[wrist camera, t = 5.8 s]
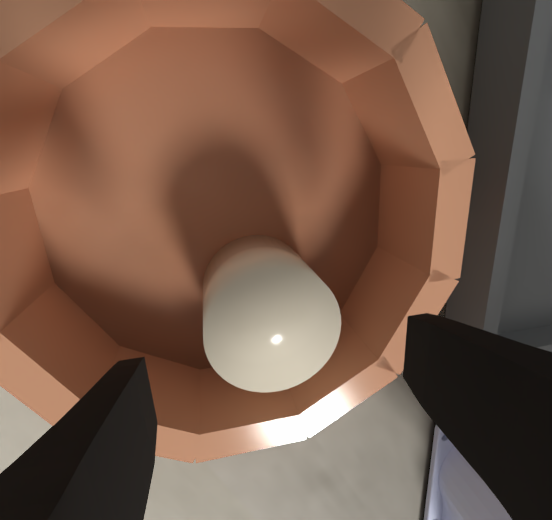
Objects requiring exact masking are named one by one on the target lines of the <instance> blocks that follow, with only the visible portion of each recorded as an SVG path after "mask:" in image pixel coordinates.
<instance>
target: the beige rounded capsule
mask: <svg viewBox="0 0 552 520" xmlns="http://www.w3.org/2000/svg"><path fill="white" fill-rule="evenodd" d="M340 332H341V314H340V309H339V305H338V303H337V300H336V298H335V296H334V294H333V293H332V291H331V290H330V289H329V287H328V286H327V285H326V284H325V283H324V282H323V281H322V280H321V279H320V278H319V277H318V275H317V274H316V273H315V272H314V271H313V270H312V269H311V268H310V267H309V266H308V265H307V264H306V263H305V262H304V260H303V259H302V258H301V257H300V256H299V255H298V254H297V253H296V252H295V251H294V250H293V249H292V248H291V247H290V246H289V245H287V244H286V243H284V242H283V241H281V240H279V239H276V238H274V237H270V236H264V235H250V236H245V237H241V238H238V239H236V240H233V241H231V242H230V243H228V244H226V245H225V246H224V247H222V248H221V249H220V250H219V251H218V252H217V253H216V254H215V255H214V256H213V258H212V259H211V260H210V262H209V264H208V266H207V268H206V271H205V273H204V278H203V344H204V349H205V353H206V356H207V358H208V361H209V362H210V364H211V366H212V367H213V369H214V370H215V371H216V372H217V374H219V375H220V376H221V377H222V378H223V379H224V380H226V381H227V382H228V383H230V384H232V385H234V386H236V387H238V388H241V389H244V390H248V391H252V392H276V391H281V390H286V389H289V388H292V387H294V386H297V385H299V384H301V383H303V382H304V381H306V380H308V379H309V378H311V377H312V376H313V375H315V374H316V373H317V372H318V371H319V370H320V369H321V368H322V367H323V366H324V365H325V364H326V362H327V361H328V360H329V358H330V357H331V355H332V354H333V352H334V350H335V348H336V346H337V343H338V340H339V336H340Z"/></svg>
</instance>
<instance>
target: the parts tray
mask: <svg viewBox="0 0 552 520" xmlns="http://www.w3.org/2000/svg"><path fill="white" fill-rule="evenodd" d="M467 133H468V136H469V138H470V141H471V144H472V147H473V149H474V152H475V155H474V156H472V157H471V158H476V159H475V167H474V175H473V183H472V190H471V198H470V206H469V214H468V221H467V229H466V237H465V245H464V252H463V260H462V268H461V276H460V278H457V279H455V280H457V281H459V282H458V284H457V285H456V287H455V288H454V290H453V292H452V293H451V295H450V296H449V298H448V300H447V304H446V313H445V318H448V319H451V320H455V321H458V322H461V323H464V324H467V325H470V326H473V327H476V328H479V329H482V330H485V331H488V332H491V333H494V334H497V335H500V336H503V337H506V338H509V339H512V340H515V341H518V342H521V343H524V344H527V345H530V346H533V347H536V348H540V349H543V350H547V351H550V352H552V0H483V1H482V10H481V18H480V27H479V35H478V43H477V52H476V60H475V69H474V77H473V86H472V94H471V102H470V111H469V119H468V128H467Z"/></svg>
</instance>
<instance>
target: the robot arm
mask: <svg viewBox="0 0 552 520" xmlns="http://www.w3.org/2000/svg"><path fill="white" fill-rule="evenodd" d="M403 377H404V379H405V381H406V382H407V384H408V386H409V387H410V389H411V391H412V392H413V394H414V395H415V397H416V398H417V400H418V401H419V403H420V404H421V406H422V407H423V409H424V410H425V411H426V412H427V414H428V415H429V416H430V417H431V419H432V420H433V421H434V422H435V424H436V426H435V431H434V439H433V448H432V456H431V464H430V472H429V480H428V488H427V497H426V505H425V513H424V520H552V352H550V351H547V350H543V349H540V348H536V347H533V346H530V345H527V344H524V343H521V342H518V341H515V340H512V339H509V338H506V337H503V336H500V335H497V334H494V333H491V332H488V331H485V330H482V329H479V328H476V327H473V326H470V325H467V324H464V323H461V322H458V321H455V320H451V319H448V318H445V317H441V316H438V315H434V314H429V313H424V314H418V315H411V316H408V319H407V332H406V344H405V357H404V369H403ZM157 425H158V422H157V417H156V412H155V407H154V402H153V397H152V392H151V387H150V382H149V377H148V372H147V367H146V362H145V357H139V358H133V359H126V360H120V361H118V362H117V363H116V364H115V365H113V366H112V367H111V368H110V369H109V370H108V371H107V372H106V373H105V374H104V376H103V377H102V378H101V379H100V380H99V381H98V382H97V383H96V384H95V385H94V386H93V387H92V388H91V389H90V390H89V391H88V392H87V393H86V394H85V395H84V396H83V397H82V398H81V399H80V400H79V401H78V402H77V403H76V404H75V405H74V406H73V407H72V408H71V409H70V410H69V411H68V412H67V413H66V414H65V415H64V416H63V417H62V418H61V419H60V420H59V421H58V422H57V423H56V424H55V425H54V426H52V427H51V428H50V429H49V430H48V431H47V432H46V433H45V434H44V435H43V436H42V437H41V438H39V439H38V440H37V441H36V442H35V443H34V444H33V445H32V446H31V447H30V448H29V449H28V450H26V451H25V452H24V453H23V454H22V455H21V456H20V457H19V458H18V459H17V460H16V461H14V462H13V463H12V464H11V465H10V466H9V467H8V468H6V469H5V470H4V471H3V472H2V473H1V474H0V520H143V519H144V514H145V509H146V504H147V499H148V494H149V489H150V484H151V479H152V474H153V468H154V462H155V451H156V439H157Z"/></svg>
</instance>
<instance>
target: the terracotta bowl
mask: <svg viewBox="0 0 552 520" xmlns="http://www.w3.org/2000/svg"><path fill="white" fill-rule="evenodd" d="M423 21H424V18H423V17H422V16H421V15H419V14H418V13H417V12H416V11H414V10H413V9H412V8H411V7H409V6H408V5H407V4H406V3H405V2H403V1H402V0H0V386H1V387H2V388H4V389H5V390H6V391H8V392H9V393H10V394H12V395H13V396H14V397H16V398H17V399H18V400H19V401H21V402H22V403H23V404H25V405H26V406H27V407H29V408H30V409H31V410H33V411H34V412H35V413H37V414H38V415H39V416H40V417H42V418H43V419H44V420H46V421H47V422H48V423H50V424H51V425H52V426H54V425H55V424H56V423H57V422H58V421H59V420H60V419H61V418H62V417H63V416H64V415H65V414H66V413H67V412H68V411H69V410H70V409H71V408H72V407H73V406H74V405H75V404H76V403H77V402H78V401H79V400H80V399H81V398H82V397H83V396H84V395H85V394H86V393H87V392H88V391H89V390H90V389H91V388H92V387H93V386H94V385H95V384H96V383H97V382H98V381H99V380H100V379H101V378H102V377H103V376H104V374H105V373H106V372H107V371H108V370H109V369H110V368H111V367H112V366H113V365H115V364H116V363H117V362H118V361H120V360H126V359H133V358H139V357H145V362H146V367H147V372H148V377H149V382H150V387H151V392H152V397H153V402H154V407H155V412H156V417H157V422H158V425H157V439H156V451H155V456H159V457H164V458H169V459H174V460H179V461H184V462H189V463H193V462H194V460H195V459H196V463H199V462H204V461H209V460H213V459H218V458H223V457H228V456H232V455H237V454H242V453H246V452H251V451H256V450H260V449H265V448H270V447H274V446H279V445H284V444H288V443H293V442H298V441H303V440H306V435H307V436H308V438H311V437H312V436H313V435H315V434H316V433H318V432H319V431H321V430H322V429H324V428H325V427H326V426H328V425H329V424H331V423H332V422H334V421H335V420H337V419H338V418H339V417H341V416H342V415H344V414H345V413H347V412H348V411H350V410H351V409H352V408H354V407H355V406H357V405H358V404H360V403H361V402H363V401H364V400H365V399H367V398H368V397H370V396H371V395H373V394H374V393H376V392H377V391H379V390H380V389H381V388H383V387H384V386H386V385H387V384H389V383H390V382H392V381H393V380H394V379H396V378H397V377H398V376H397V375H396V373H397V374H401V373H402V371H403V369H404V357H405V344H406V332H407V319H408V316H411V315H418V314H424V313H429V314H434V315H438V314H439V312H440V311H441V309H442V307H443V306H444V304H445V303H446V301H447V300H448V298H449V296H450V295H451V293H452V292H453V290H454V288H455V287H456V285H457V284H458V282H459V281H457V280H455V279H457V278H460V276H461V268H462V260H463V252H464V245H465V237H466V229H467V221H468V214H469V206H470V198H471V190H472V183H473V175H474V167H475V159H476V158H471V157H472V156H474V155H475V152H474V149H473V147H472V144H471V141H470V138H469V136H468V133H467V130H466V127H465V125H464V122H463V119H462V116H461V114H460V111H459V108H458V106H457V103H456V100H455V97H454V95H453V92H452V89H451V86H450V84H449V81H448V78H447V75H446V73H445V70H444V67H443V64H442V62H441V59H440V56H439V53H438V51H437V48H436V45H435V43H434V40H433V37H432V34H431V32H430V29H429V26H428V23H426V24H424V25H422V23H423ZM421 25H422V26H421ZM250 235H264V236H270V237H274V238H276V239H279V240H281V241H283V242H284V243H286V244H287V245H289V246H290V247H291V248H292V249H293V250H294V251H295V252H296V253H297V254H298V255H299V256H300V257H301V258H302V259H303V260H304V262H305V263H306V264H307V265H308V266H309V267H310V268H311V269H312V270H313V271H314V272H315V273H316V274H317V275H318V277H319V278H320V279H321V280H322V281H323V282H324V283H325V284H326V285H327V286H328V287H329V289H330V290H331V291H332V293H333V294H334V296H335V298H336V300H337V303H338V305H339V309H340V314H341V332H340V336H339V340H338V343H337V346H336V348H335V350H334V352H333V354H332V355H331V357H330V358H329V360H328V361H327V362H326V364H325V365H324V366H323V367H322V368H321V369H320V370H319V371H318V372H317V373H316V374H315V375H313V376H312V377H311V378H309V379H308V380H306V381H304V382H303V383H301V384H299V385H297V386H294V387H292V388H289V389H286V390H281V391H276V392H252V391H248V390H244V389H241V388H238V387H236V386H234V385H232V384H230V383H228V382H227V381H226V380H224V379H223V378H222V377H221V376H220V375H219V374H217V372H216V371H215V370H214V369H213V367H212V366H211V364H210V362H209V361H208V358H207V356H206V353H205V349H204V344H203V278H204V273H205V271H206V268H207V266H208V264H209V262H210V260H211V259H212V258H213V256H214V255H215V254H216V253H217V252H218V251H219V250H220V249H221V248H222V247H224V246H225V245H226V244H228V243H230V242H231V241H233V240H236V239H238V238H241V237H245V236H250Z"/></svg>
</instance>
